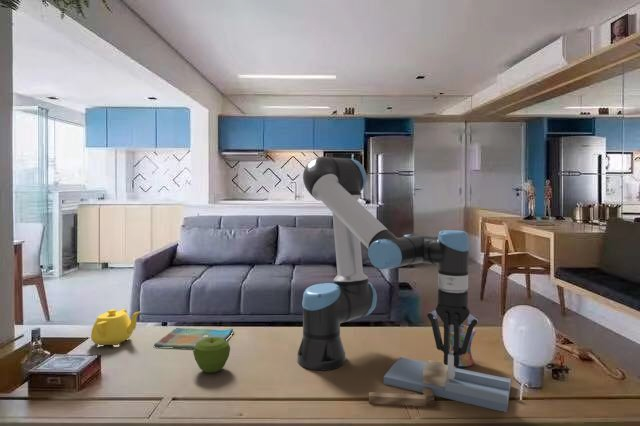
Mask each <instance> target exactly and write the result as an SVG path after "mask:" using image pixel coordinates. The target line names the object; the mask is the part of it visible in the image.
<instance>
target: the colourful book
mask: <svg viewBox="0 0 640 426" xmlns="http://www.w3.org/2000/svg"><path fill="white" fill-rule="evenodd" d="M175 328H176V329H175ZM175 328H174V329H173V330H172V331H171V332H168V334H166V335H165V336H163V337H162V338H161V339H159V341H157V342H155V343H154V344H153V347H154V346H155V347H173V348H192V349H191V350H194V347H195V345H196V343H198V342H199V341H201V340H202V339H204V338H208V337H220V338H223V339H224V340H226V339H227V338H228V337H229V336H230V335H231V333H232V332H234V329H233V328H230V329H221V330H220V329H212V328H210V329H209V328H191V327H189V328H185V327H182V328H181V327H175ZM185 333H186V334H185ZM187 334H188V335H187ZM204 335H208V337H203V336H204Z"/></svg>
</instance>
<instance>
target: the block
mask: <svg viewBox="0 0 640 426" xmlns="http://www.w3.org/2000/svg"><path fill="white" fill-rule="evenodd" d="M449 381H450V379H448V365H444V361H437V360H431V359H428V360H427V363H426V365H425V366H424V368H423V383H427V384H432V385H436V386H441V387H445V382H449Z"/></svg>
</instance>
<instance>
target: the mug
mask: <svg viewBox="0 0 640 426" xmlns="http://www.w3.org/2000/svg"><path fill="white" fill-rule="evenodd" d="M468 326H469V325H464V324H461V327H460V348H462V346H463V342H464V339H465V335H466V332H467V329H468ZM476 332H477V331H476V329H475V327H474V328H473V331H472V335H471V338H470V342H469V345H468V348H467V351H466V353H465V354H460V363H459V365H458V367H471V366H472V365H474V363H475V361H474V358H473V356H472V342H473V339H474V337H475V334H476ZM450 351H453V352H454V325H451V326H450Z"/></svg>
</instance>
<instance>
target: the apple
mask: <svg viewBox="0 0 640 426" xmlns="http://www.w3.org/2000/svg"><path fill="white" fill-rule="evenodd" d="M192 354H193V357H194V360H195V362H196V364H197V366H198V368H199V369H200V370H201V371H202V372H205V373H208V374H213V373H218V372H220V371H221V370H222V369H224V367H225V366H226V363H227V361H228V359H229V357H230V354H231V346H230V344H229V341H226V340H224V339H223V338H220V337H208V338H204V339H202V340H201V341H199V342H198V343H196V345H195V347H194V349H192Z"/></svg>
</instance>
